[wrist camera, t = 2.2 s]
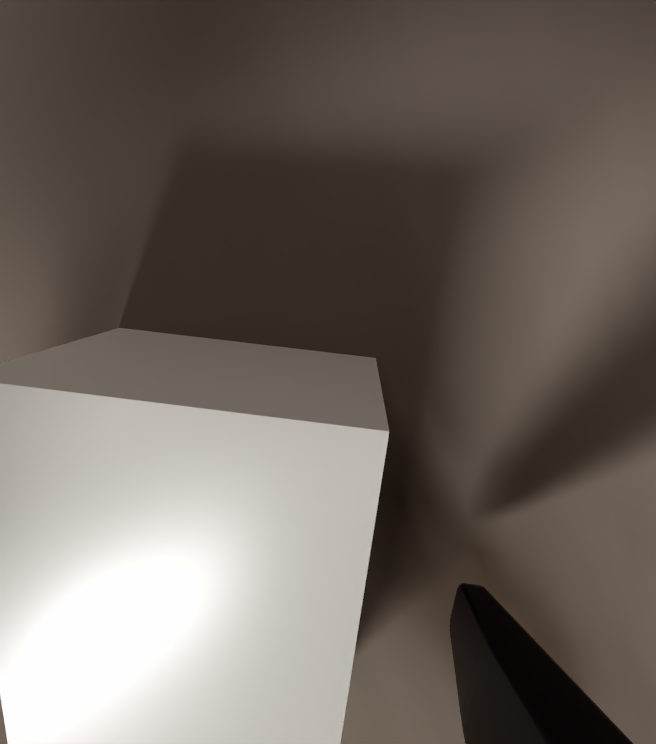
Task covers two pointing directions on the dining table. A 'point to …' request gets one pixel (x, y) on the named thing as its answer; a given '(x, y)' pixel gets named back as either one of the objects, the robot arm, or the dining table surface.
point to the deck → (184, 539)
